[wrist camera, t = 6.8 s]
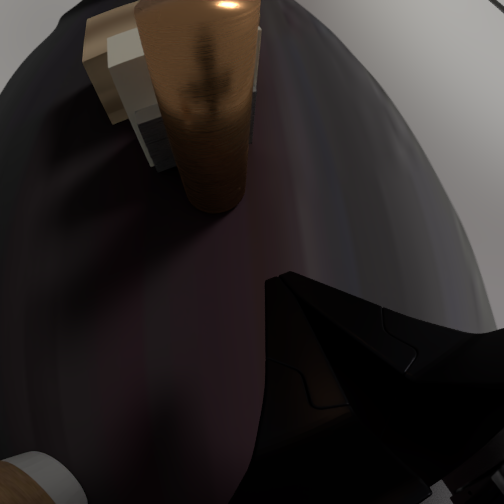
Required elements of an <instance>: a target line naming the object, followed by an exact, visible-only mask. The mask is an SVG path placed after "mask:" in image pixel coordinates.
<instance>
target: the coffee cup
mask: <svg viewBox="0 0 504 504" xmlns="http://www.w3.org/2000/svg"><path fill="white" fill-rule="evenodd" d="M0 504H88V501H87V498H86V495H85V492H84V490H83V489H82V487H81V485H80V484H79V482H78V481H77V479H76V478H75V477H74V476H73V475H72V473H71V472H70V471H69V470H68V469H67V468H66V467H65V466H63V465H62V464H61V463H60V462H58V461H57V460H55V459H54V458H52V457H51V456H49V455H47V454H45V453H41V452H37V451H31V452H27V453H23V454H20V455H17V456H14V457H10V458H7V459H4V460H0Z"/></svg>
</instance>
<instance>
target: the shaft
mask: <svg viewBox="0 0 504 504" xmlns="http://www.w3.org/2000/svg"><path fill="white" fill-rule="evenodd" d="M260 2H261V0H140V1H139V2H138V3H137V5H136V6H135V8H134V16H135V20H136V24H137V29H138V33H139V36H140V40H141V44H142V48H143V52H144V56H145V60H146V63H147V67H148V71H149V74H150V78H151V81H152V85H153V89H154V92H155V96H156V99H157V104H154V105H151V106H148V107H145V108H143V109H140V110H137V111H135V116H136V122H137V126H138V128H139V131H140V133H141V135H142V138H143V140H144V142H145V145H146V147H147V149H148V152H149V154H150V156H151V159H152V161H153V163H154V165H155V168H156V170H157V172H161V171H164V170H167V169H169V168H172V167H175V166H177V168H178V171H179V174H180V177H181V180H182V183H183V186H184V189H185V192H186V195H187V198H188V200H189V202H190V203H191V204H192V205H193V206H194V207H195V208H196V209H198V210H200V211H202V212H205V213H210V214H218V213H223V212H226V211H229V210H231V209H232V208H234V207H235V206H236V205H237V204H238V203H239V202H240V201H241V199H242V198H243V196H244V193H245V187H246V173H247V160H248V146H249V144H252V137H253V126H254V115H255V105H256V94H257V91H256V89H255V87H254V86H253V82H254V70H255V58H256V47H257V35H258V24H259V13H260Z"/></svg>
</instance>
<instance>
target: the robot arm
mask: <svg viewBox="0 0 504 504" xmlns="http://www.w3.org/2000/svg"><path fill="white" fill-rule="evenodd" d="M265 352H266V361H265V389H264V397H263V404H262V410H261V416H260V421H259V426H258V432H257V437H256V442H255V447H254V451H253V455H252V459H251V462H250V465H249V467H248V470H247V472H246V473H245V475H244V477H243V479H242V481H241V482H240V484H239V486H238V488H237V489H236V491H235V493H234V495H233V496H232V498H231V500H230V502H229V503H228V504H419V503H421V502H422V501H424V500H425V499H427V498H428V497H429V496H431V495H432V491H431V489H430V486H432V485H433V484H435V483H436V482H438V481H439V480H441V479H442V480H443V482H444V483H445V485H446V486H447V488H448V489H449V491H450V492H451V493H452V495H453V496H451V497H450V499H451V501H452V502H453V504H504V328H503V329H499V330H496V331H492V332H488V333H482V334H474V333H467V332H462V331H458V330H455V329H451V328H447V327H444V326H440V325H436V324H432V323H429V322H425V321H422V320H419V319H415V318H412V317H409V316H406V315H403V314H400V313H398V312H395V311H392V310H390V309H387V308H385V307H383V308H382V307H381V306H379V305H377V304H374V303H371V302H369V301H366V300H364V299H361V298H359V297H356V296H353V295H351V294H348V293H346V292H343V291H341V290H338V289H336V288H333V287H330V286H328V285H325V284H323V283H320V282H318V281H315V280H313V279H310V278H307V277H305V276H302V275H300V274H297V273H295V272H292V271H289V272H286V273H284V274H281V275H279V277H273V278H270V279H268V280H266V281H265Z"/></svg>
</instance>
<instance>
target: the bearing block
mask: <svg viewBox="0 0 504 504" xmlns="http://www.w3.org/2000/svg"><path fill="white" fill-rule="evenodd" d="M138 2H139V1H136V2H133V3H130V4H127V5H124V6H121V7H118V8H115V9H112V10H110V11H107V12H104V13H102V14H99V15H97V16H94V17H92V18H89V19H87V24H86V32H85V39H84V48H83V59H82V63H83V65H84V67H85V69H86V72H87V74H88V76H89V78H90V80H91V82H92V84H93V86H94V88H95V91H96V93H97V95H98V97H99V99H100V101H101V103H102V105H103V107H104V109H105V111H106V113H107V115H108V117H109V119H110V121H111V123H112V125H114V124H116V123H118V122H121V121H124V120H126V119H129V117H128V115H127V113H126V110H125V108H124V106H123V103H122V101H121V99H120V96H119V94H118V91H117V89H116V86H115V84H114V82H113V79H112V77H111V74H110V72H109V69H108V55H107V38H109V37H112V36H114V35H117V34H120V33H122V32H125V31H128V30H131V29H134V28H137V24H136V20H135V16H134V8H135V6H136V5H137V3H138ZM259 25H260V14H259V24H258V26H259Z"/></svg>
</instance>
